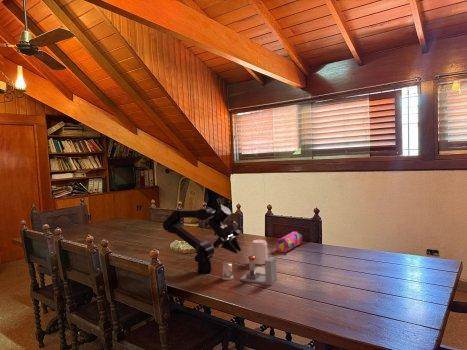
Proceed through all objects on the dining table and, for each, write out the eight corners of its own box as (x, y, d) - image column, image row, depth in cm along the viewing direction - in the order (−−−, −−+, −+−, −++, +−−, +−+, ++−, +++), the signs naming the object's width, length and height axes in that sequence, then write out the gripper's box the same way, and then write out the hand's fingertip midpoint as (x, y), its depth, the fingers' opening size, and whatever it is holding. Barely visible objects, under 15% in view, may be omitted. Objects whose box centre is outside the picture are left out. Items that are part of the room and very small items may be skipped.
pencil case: (289, 254, 194) (288, 239, 193) (274, 252, 199) (274, 237, 199) (303, 245, 212) (302, 231, 211) (289, 243, 217) (289, 229, 217)
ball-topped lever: (246, 277, 157) (245, 257, 156) (250, 274, 161) (249, 254, 160) (255, 279, 154) (254, 258, 154) (259, 275, 158) (258, 255, 158)
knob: (221, 280, 158) (220, 266, 157) (221, 276, 164) (221, 262, 163) (233, 280, 158) (233, 265, 158) (233, 275, 164) (232, 261, 163)
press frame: (240, 280, 157) (239, 257, 157) (255, 268, 172) (254, 248, 171) (271, 285, 149) (270, 261, 149) (284, 273, 164) (284, 251, 163)
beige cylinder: (255, 266, 176) (254, 243, 175) (250, 261, 184) (250, 240, 183) (269, 264, 178) (269, 242, 178) (264, 259, 186) (263, 238, 185)
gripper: (217, 220, 154) (239, 246, 149) (236, 213, 170) (257, 236, 165) (204, 236, 158) (225, 261, 153) (224, 227, 174) (243, 250, 170)
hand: (238, 251), depth 160 cm, fingers open, 3 cm apart
